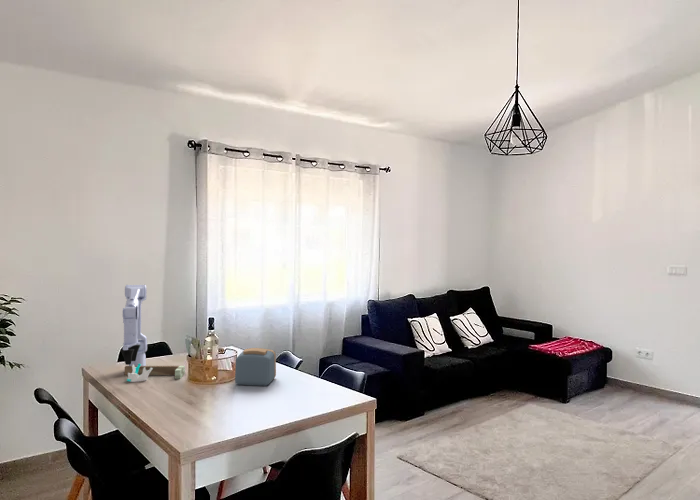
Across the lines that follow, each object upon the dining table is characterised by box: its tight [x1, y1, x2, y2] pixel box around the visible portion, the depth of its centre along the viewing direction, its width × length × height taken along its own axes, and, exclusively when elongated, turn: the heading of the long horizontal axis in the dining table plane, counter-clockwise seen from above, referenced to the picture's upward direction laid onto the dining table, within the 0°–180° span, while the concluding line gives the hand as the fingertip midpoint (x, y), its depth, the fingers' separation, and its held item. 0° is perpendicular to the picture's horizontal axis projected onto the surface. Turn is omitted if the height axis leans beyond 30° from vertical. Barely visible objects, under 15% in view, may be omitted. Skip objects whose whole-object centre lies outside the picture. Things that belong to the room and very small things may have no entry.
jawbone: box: [126, 364, 153, 383], centre depth 253 cm, size 12×8×9 cm, turn 54°
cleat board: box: [124, 365, 186, 380], centre depth 260 cm, size 10×28×4 cm, turn 94°
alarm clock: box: [234, 347, 277, 387], centre depth 253 cm, size 16×16×16 cm
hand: (130, 362), depth 244 cm, fingers open, 6 cm apart
